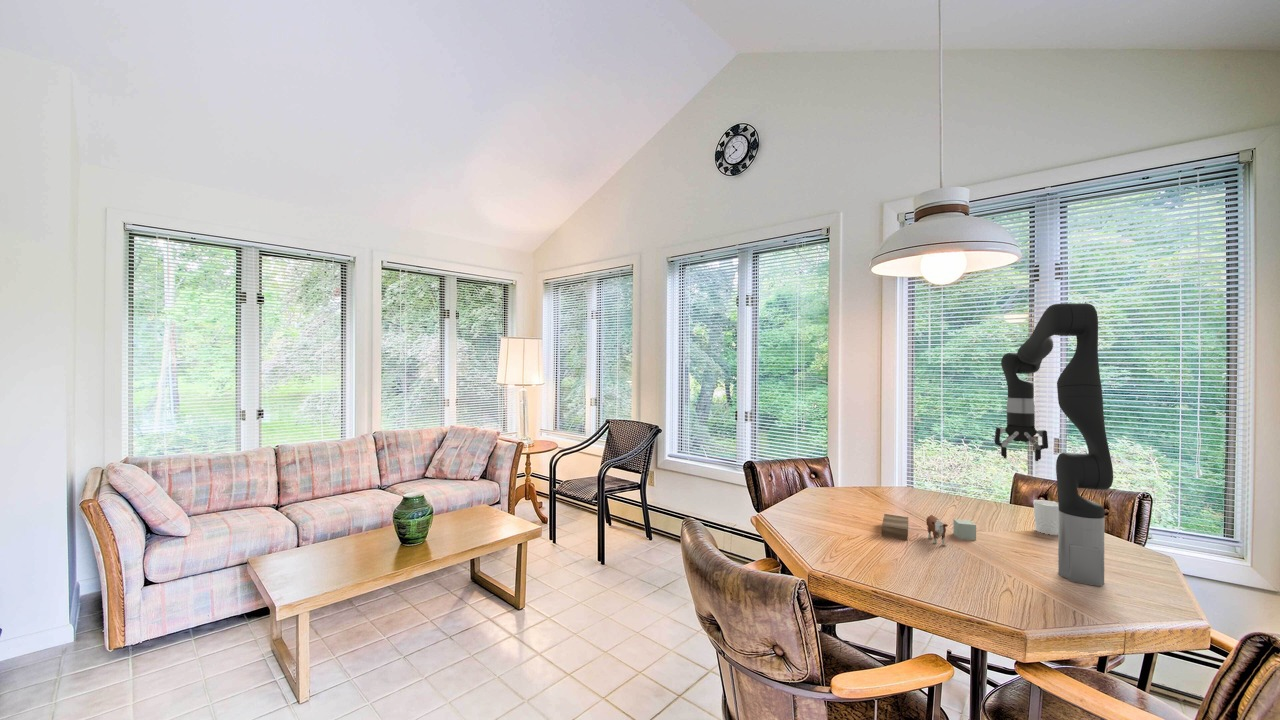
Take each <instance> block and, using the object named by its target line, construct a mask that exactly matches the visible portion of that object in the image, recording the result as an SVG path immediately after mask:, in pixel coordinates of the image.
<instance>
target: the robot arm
mask: <svg viewBox="0 0 1280 720" xmlns="http://www.w3.org/2000/svg"><path fill="white" fill-rule="evenodd" d="M1098 316H1099V315H1098V312H1097V309H1096V307H1095V306H1094V305H1093V304H1091V303H1086V302H1085V303H1082V302H1079V303H1078V302H1077V303H1076V302H1075V303H1073V302H1072V303H1071V302H1070V303H1067V302H1064V303H1061V302H1060V303H1054V304H1051V305H1050V306H1049V307H1047V308H1046V309H1045V310H1044V312H1043V313H1042V315H1041V317H1040V319H1038V322H1037V324H1036V326H1035V327H1034V330H1033V332H1032V333H1031V335H1030V336H1029V337H1028V338H1027V339H1026V340H1025V341H1024V342H1023V343H1022V345H1020V347H1019V348H1018V350H1017V352H1007V353H1005V354H1004V355H1003V356H1002V358H1001V360H1000V361H1001V362H1000V364H1001V369H1002V371H1003V375H1004V378H1005V380H1006V384H1007V401H1006V409H1005V410H1006V427H1005V428H1003V427H999V426H996V427H995V432H994V433H995V434H994V444H995V445H996V446H1000V455H1001V457H1003V459H1007V455H1008V453H1007V451H1008V450H1007V446H1008V445H1009V444H1010V443H1011V442H1012V441H1014V442H1023V443H1028V442H1030V443H1031V445H1033V447H1034V448H1035V449H1034V461H1035V462H1039V460H1041V459H1042V450H1044V449H1046V450H1047V449H1048V448H1049V439H1048V438H1049V437H1048V431H1047V430H1046V429H1040V430H1039V429H1036V427H1035V426H1036V423H1035V421H1036V418H1035V417H1036V413H1035V412H1036V411H1035V409H1036V407H1035V399H1034V395H1035V394H1034V393H1035V392H1034V389H1035V388H1034V383H1033V382H1032V381H1030V380H1024V379H1021V378H1019V376H1018V375H1017V374H1034V373H1036V372H1038V371H1039V370H1040V369H1041V364H1042V361H1043V360H1044V359H1045V358H1046V357H1047V356H1049V355H1050V353H1052V351H1053V348H1054V341H1053V338H1052V336H1059V337H1061V336H1062V337H1073V336H1074V337H1076V348H1075V352H1074V355H1073V356H1072V358H1071V360H1070V361H1069V362H1068V364H1067V365H1066V366H1065V367H1064V369H1063V371H1062V372H1061V373H1060V374H1059V376H1058V378H1057V381H1056V388H1057V389H1056V390H1057V401H1058V406H1059V408H1060V409H1061V411H1062V412H1063V414H1064V415H1065V416H1066V417H1067V418H1068V420H1069V421H1070V422H1072V424H1073V425H1074V426H1075V427H1076V428H1077V430H1078V431H1079V432H1080V434H1081V435H1082V437H1083V439H1084V441H1085V443H1086V446H1087V450H1088V453H1084V452H1082V453H1081V452H1080V453H1079V452H1061V453H1060V454H1059V455H1058V456H1057V458H1056V461H1055V473H1056V489H1057V491H1056V496H1057V503H1058V505H1059V513H1058V535H1057V536H1058V537H1057V538H1058V539H1057V540H1058V541H1057V543H1058V549H1057V550H1058V551H1057V552H1058V553H1057V555H1058V556H1057V557H1058V561H1057V562H1058V564H1057V565H1058V569H1057V570H1058V571H1057V572H1058V575H1059V576H1061V577H1063V578H1065V579H1067V580H1069V582H1072V583H1073V582H1074V583H1078V584H1085V585H1089V586H1090V585H1091V586H1096V587H1102V586H1103V585H1104V584H1105V511H1106V510H1105V508H1104V506H1103V505H1102V504H1100V503H1098V502H1096V501H1092V500H1090V499H1087V498H1085V497H1083V496H1081V495H1080V494H1079V491H1078V490H1079V489H1085V490H1086V489H1087V490H1098V491H1099V490H1100V491H1101V490H1102V491H1104V490H1105V491H1106V490H1109V489H1110V488H1112V485H1113V482H1114V470H1113V469H1114V468H1113V462H1112V458H1111V453H1110V448H1109V444H1108V438H1107V432H1106V423H1105V415H1104V399H1103V397H1104V396H1103V388H1102V387H1103V386H1102V381H1101V375H1100V374H1101V373H1100V364H1099V319H1098V318H1099V317H1098ZM1004 432H1005V433H1006V434H1007V435H1008V436H1007V437H1006V438H1005V439H1004V440H1003V441H1000V440H1001V435H1003V433H1004ZM1037 434H1038V436H1039V437H1041V444H1040V445H1039V444H1038V442H1037V441H1036V440H1035V439H1034V437H1035V436H1036V435H1037Z"/></svg>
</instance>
